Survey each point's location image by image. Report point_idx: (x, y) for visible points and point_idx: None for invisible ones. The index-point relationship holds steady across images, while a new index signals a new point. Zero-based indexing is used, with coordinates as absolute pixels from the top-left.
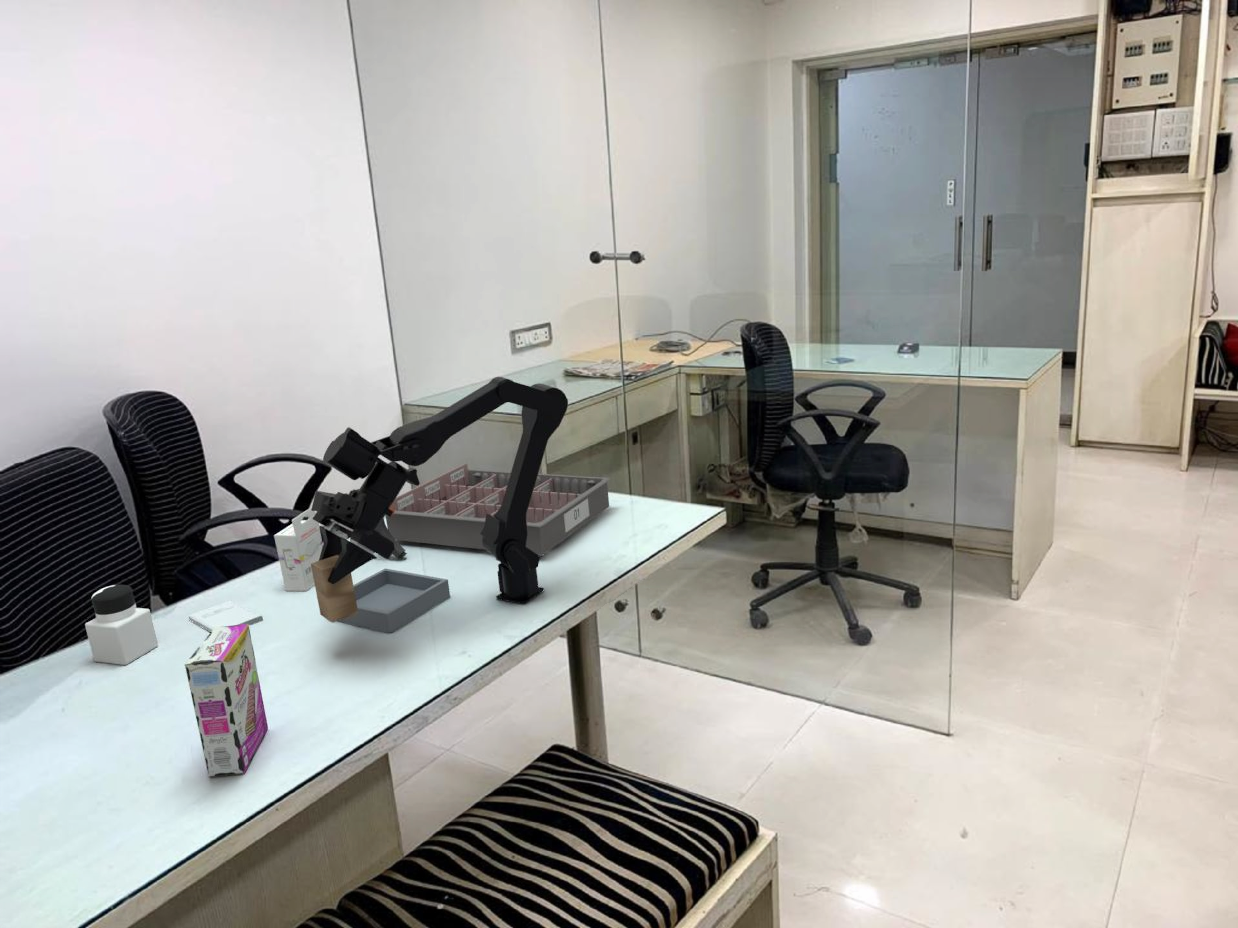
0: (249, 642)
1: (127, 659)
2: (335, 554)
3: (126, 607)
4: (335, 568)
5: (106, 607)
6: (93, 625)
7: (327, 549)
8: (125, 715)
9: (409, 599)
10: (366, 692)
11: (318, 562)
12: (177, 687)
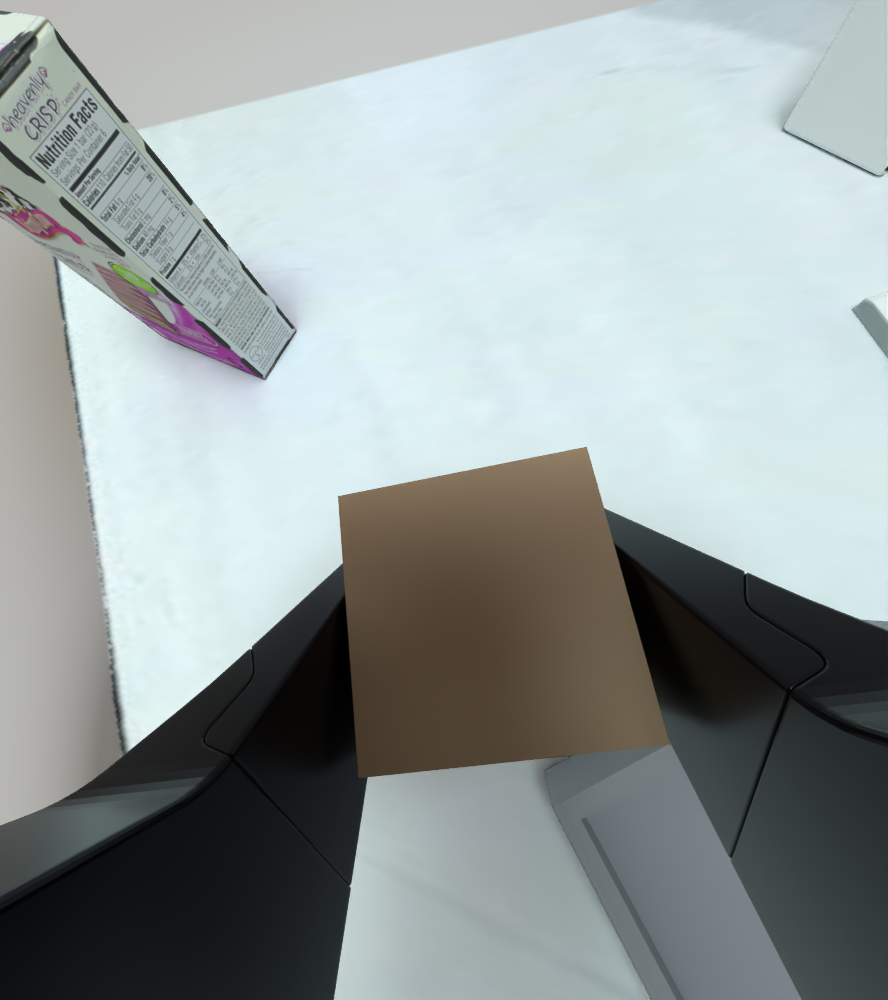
0: (23, 180)
1: (795, 118)
2: (691, 730)
3: None
4: (302, 605)
5: None
6: None
7: (712, 653)
8: (506, 165)
9: (661, 979)
10: (253, 580)
11: (562, 511)
12: (572, 234)
